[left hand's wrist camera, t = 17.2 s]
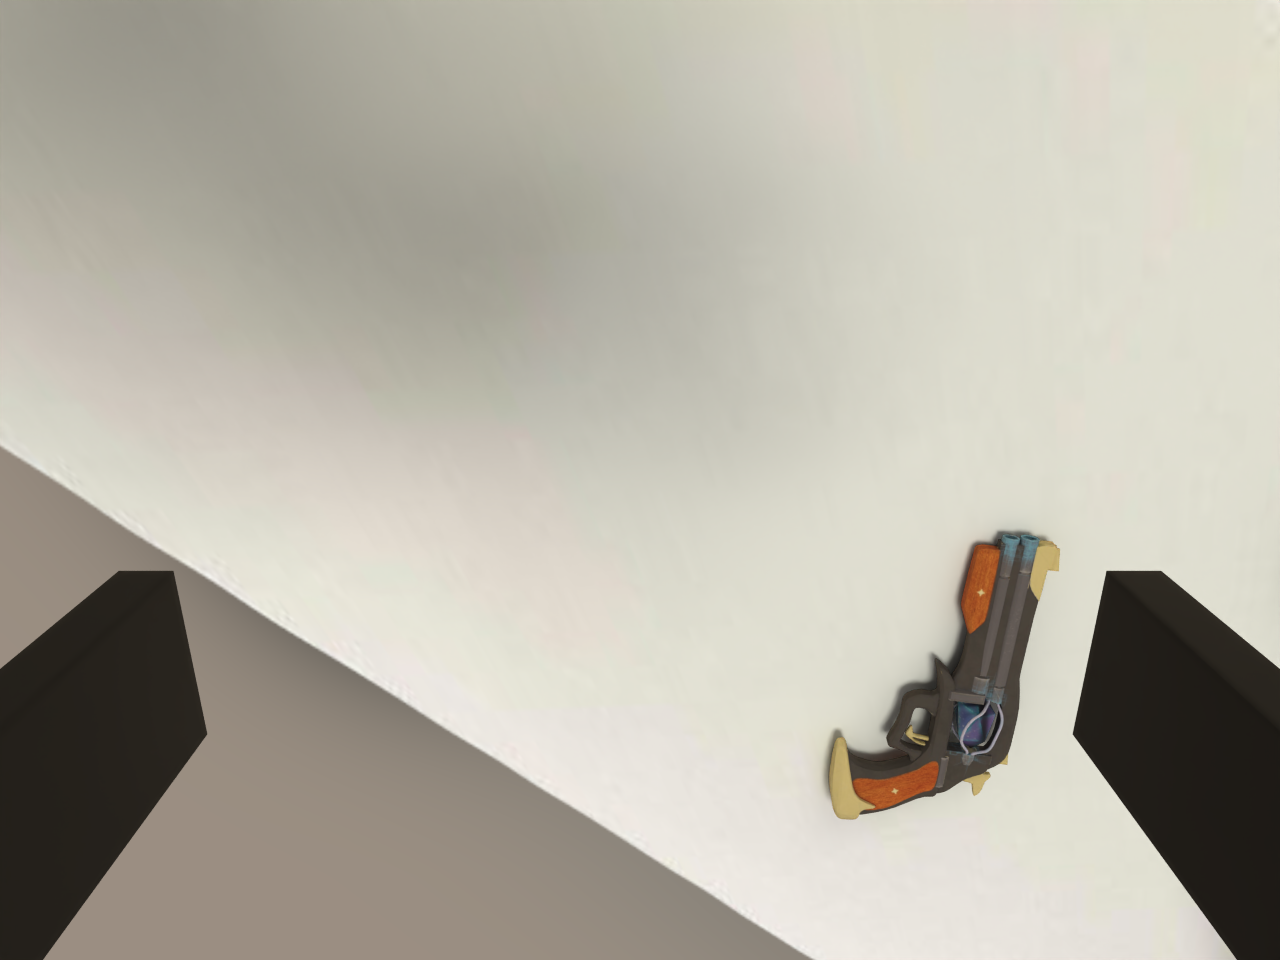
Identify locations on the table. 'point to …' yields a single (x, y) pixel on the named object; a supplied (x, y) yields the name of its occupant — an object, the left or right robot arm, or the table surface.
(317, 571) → the table surface
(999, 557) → the toy gun
